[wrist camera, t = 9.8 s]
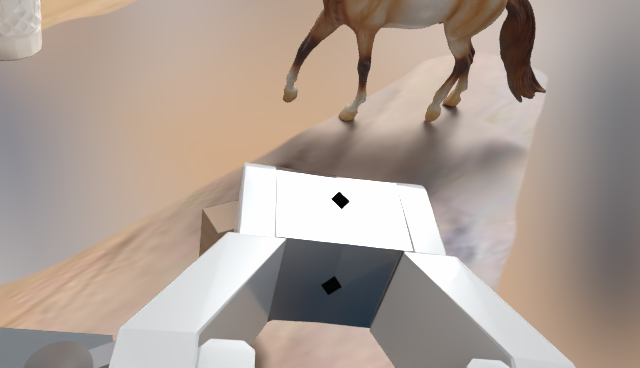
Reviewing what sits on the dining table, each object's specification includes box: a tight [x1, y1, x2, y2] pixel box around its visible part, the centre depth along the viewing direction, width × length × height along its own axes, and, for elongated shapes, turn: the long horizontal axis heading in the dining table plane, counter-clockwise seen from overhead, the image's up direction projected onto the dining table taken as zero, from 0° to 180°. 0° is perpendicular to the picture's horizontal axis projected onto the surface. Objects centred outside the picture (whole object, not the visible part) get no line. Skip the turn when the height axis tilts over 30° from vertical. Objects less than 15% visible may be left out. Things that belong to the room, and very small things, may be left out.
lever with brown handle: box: [23, 200, 271, 368], centre depth 26 cm, size 22×3×10 cm, turn 122°
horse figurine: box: [283, 0, 546, 122], centre depth 54 cm, size 31×8×21 cm, turn 103°
